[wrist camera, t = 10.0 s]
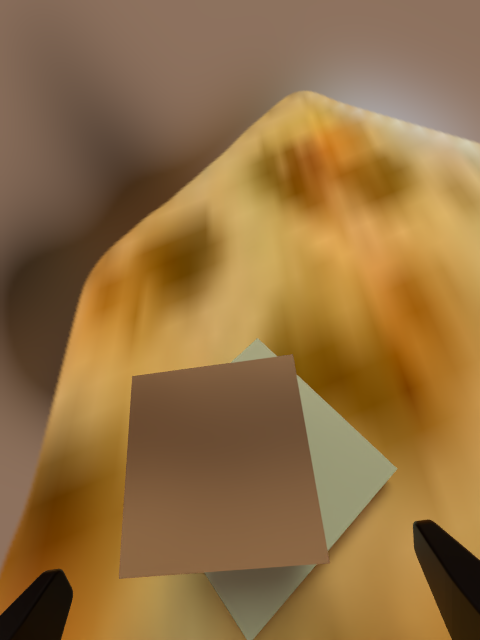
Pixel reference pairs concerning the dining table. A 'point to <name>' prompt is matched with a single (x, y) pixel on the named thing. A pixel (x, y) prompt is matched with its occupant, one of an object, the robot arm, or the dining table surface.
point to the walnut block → (219, 472)
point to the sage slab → (334, 499)
